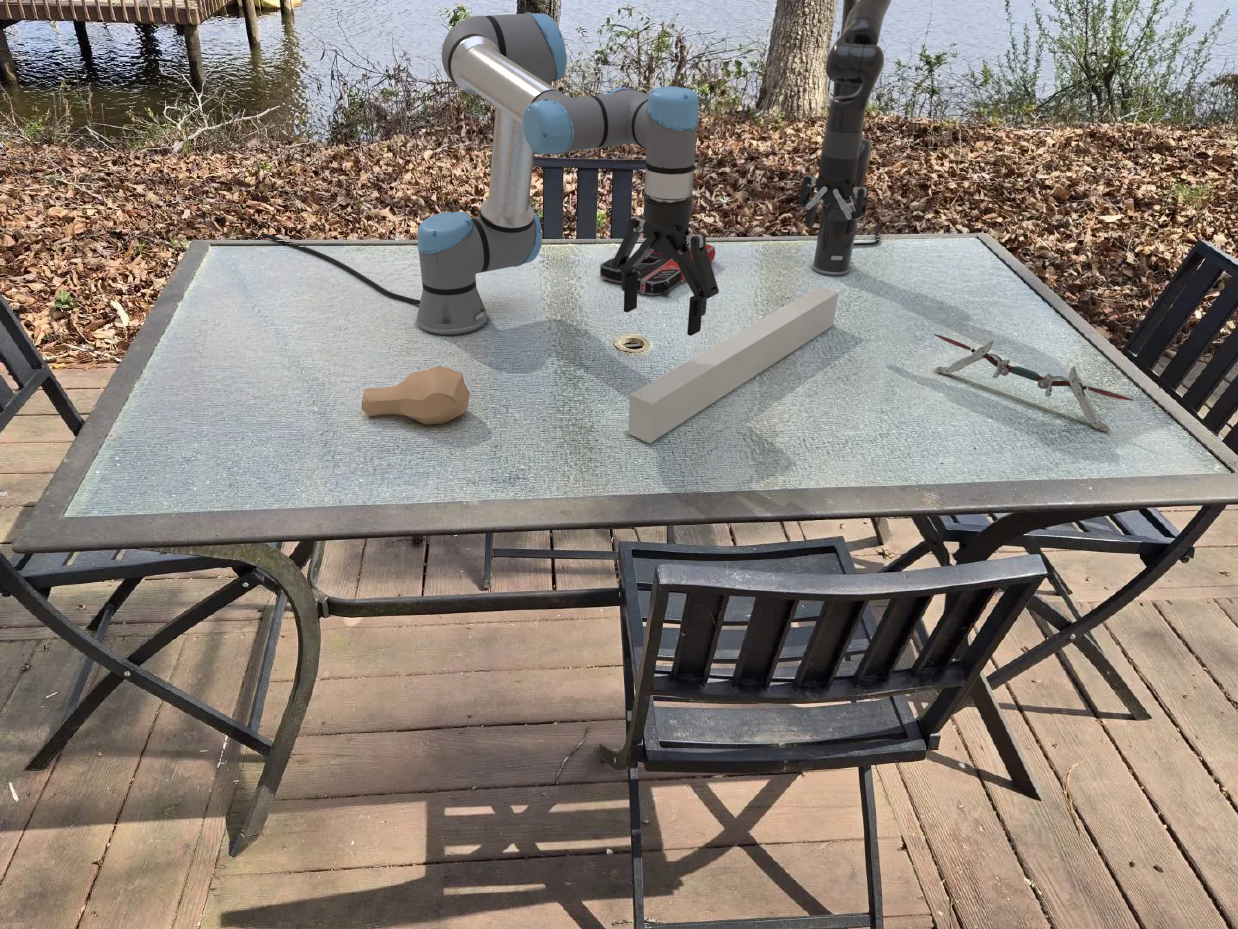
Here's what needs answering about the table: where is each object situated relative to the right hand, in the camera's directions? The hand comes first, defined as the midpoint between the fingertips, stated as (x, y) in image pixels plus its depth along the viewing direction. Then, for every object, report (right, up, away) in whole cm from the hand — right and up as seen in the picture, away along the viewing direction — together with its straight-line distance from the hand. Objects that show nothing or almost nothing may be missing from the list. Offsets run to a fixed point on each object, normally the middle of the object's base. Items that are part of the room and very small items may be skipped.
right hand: (827, 231), depth 185 cm
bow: (+35, -37, -12) cm, 52 cm away
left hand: (-37, -25, -37) cm, 58 cm away
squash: (-82, -40, -23) cm, 94 cm away
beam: (-19, -31, -6) cm, 36 cm away
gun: (-34, 0, +40) cm, 52 cm away
